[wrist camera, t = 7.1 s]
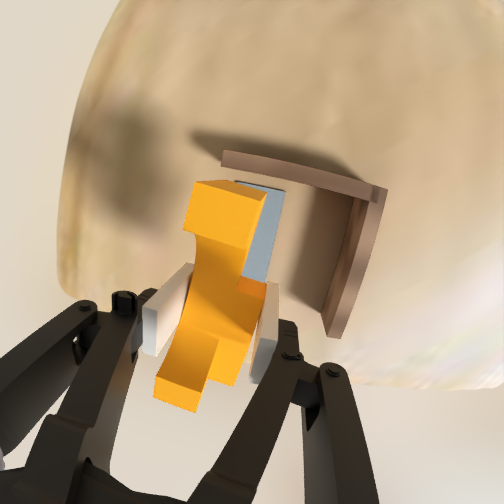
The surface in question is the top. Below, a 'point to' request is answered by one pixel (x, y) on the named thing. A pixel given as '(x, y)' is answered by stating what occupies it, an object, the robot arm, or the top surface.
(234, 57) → the top surface
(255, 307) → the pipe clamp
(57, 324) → the robot arm
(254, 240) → the pad
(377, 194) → the brown wooden corner wall
